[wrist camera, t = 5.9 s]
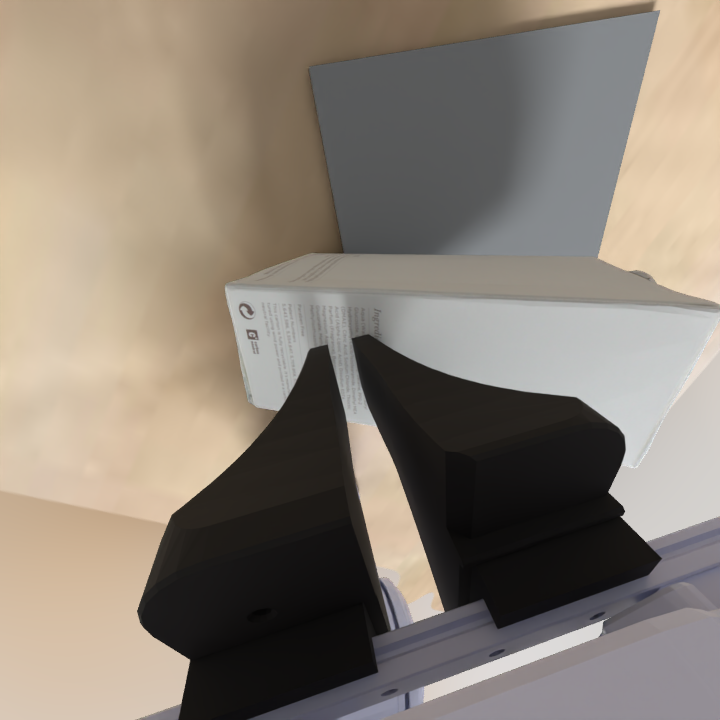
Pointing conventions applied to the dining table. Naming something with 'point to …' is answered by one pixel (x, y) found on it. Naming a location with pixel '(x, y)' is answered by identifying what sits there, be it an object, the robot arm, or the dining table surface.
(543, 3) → the dining table surface
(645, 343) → the skincare box
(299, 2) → the dining table surface
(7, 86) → the dining table surface
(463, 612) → the robot arm
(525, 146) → the mat
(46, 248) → the dining table surface
